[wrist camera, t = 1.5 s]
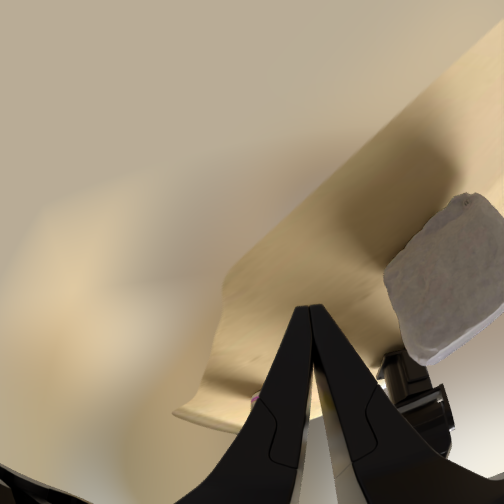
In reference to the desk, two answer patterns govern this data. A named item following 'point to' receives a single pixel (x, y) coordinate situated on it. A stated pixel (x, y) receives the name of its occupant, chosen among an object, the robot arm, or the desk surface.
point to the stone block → (449, 279)
